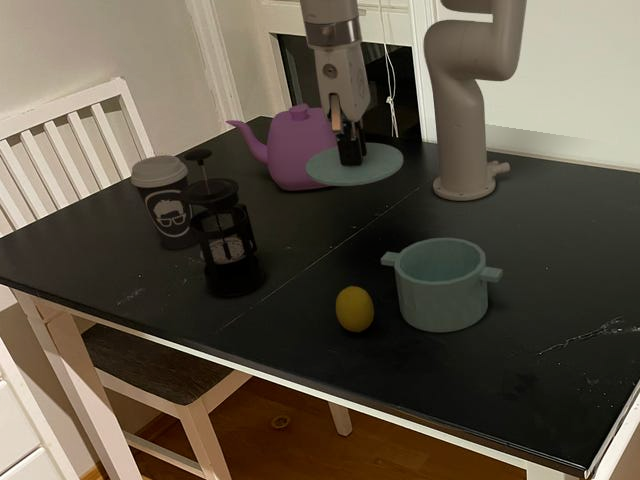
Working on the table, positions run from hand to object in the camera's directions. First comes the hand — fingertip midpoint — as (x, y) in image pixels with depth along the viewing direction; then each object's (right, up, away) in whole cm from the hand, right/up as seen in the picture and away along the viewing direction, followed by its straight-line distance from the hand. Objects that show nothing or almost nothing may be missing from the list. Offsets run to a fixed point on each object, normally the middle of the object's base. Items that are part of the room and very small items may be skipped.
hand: (354, 159), depth 112 cm
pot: (+14, -22, +4) cm, 26 cm away
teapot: (-17, +8, +45) cm, 49 cm away
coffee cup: (-37, -8, +25) cm, 45 cm away
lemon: (+1, -26, 0) cm, 26 cm away
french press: (-22, -17, +13) cm, 31 cm away
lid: (0, -1, +1) cm, 1 cm away
